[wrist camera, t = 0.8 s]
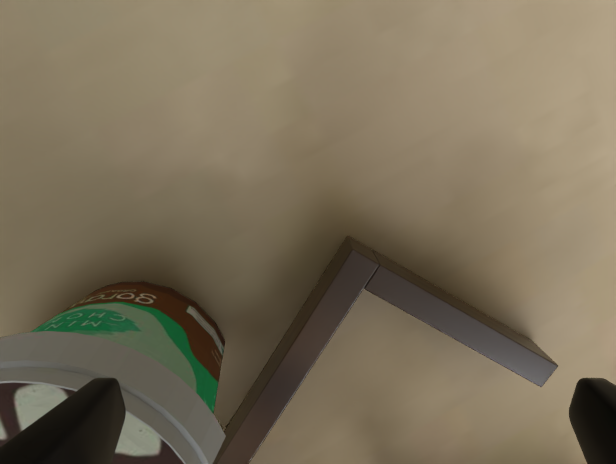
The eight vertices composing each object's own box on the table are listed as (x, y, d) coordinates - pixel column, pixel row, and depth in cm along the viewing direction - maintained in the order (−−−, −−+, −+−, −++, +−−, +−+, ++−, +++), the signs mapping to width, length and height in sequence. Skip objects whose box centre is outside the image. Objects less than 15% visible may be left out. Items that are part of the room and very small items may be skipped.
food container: (210, 229, 22) (138, 312, 13) (251, 333, 24) (214, 480, 14) (-9, 299, 23) (-234, 428, 13) (44, 396, 25) (-125, 576, 15)
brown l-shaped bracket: (368, 551, 28) (374, 593, 25) (197, 473, 26) (187, 509, 24) (533, 341, 24) (558, 366, 22) (347, 234, 22) (352, 248, 20)
